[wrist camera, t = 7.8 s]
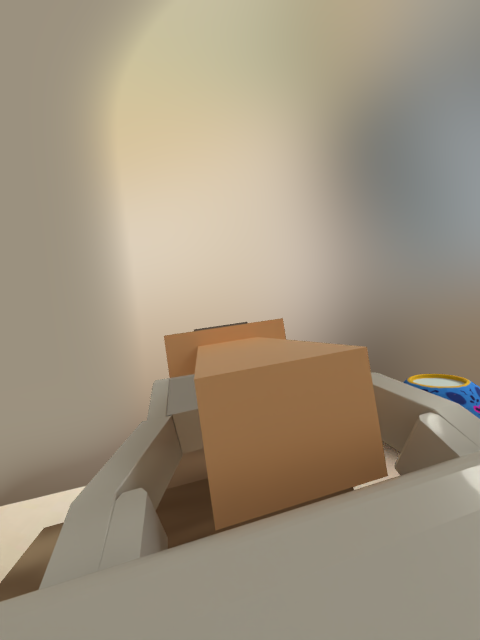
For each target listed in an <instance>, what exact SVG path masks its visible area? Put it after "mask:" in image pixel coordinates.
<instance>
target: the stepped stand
mask: <svg viewBox="0 0 480 640" xmlns="http://www.w3.org/2000/svg"><path fill="white" fill-rule="evenodd" d="M353 490H354V489H353V487H351V488H348V489H345V490H342V491H339V492H335V493H332V494H329V495H326V496H323V497H320V498H316V499H313V500H310V501H307V502H304V503H301V504H298V505H294V506H291V507H288V508H285V509H282V510H279V511H275V512H272V513H269V514H266V515H263V516H260V517H257V518H253V519H250V520H247V521H244V522H241V523H238V524H234V525H231V526H228V527H225V528H222V529H219V530H216V531H215V524H214V517H213V510H212V503H211V496H210V488H209V481H208V474H207V467H206V460H205V453H204V448H203V449H199V450H195V451H192V452H188V453H184V454H182V458H181V460H180V462H179V464H178V466H177V468H176V470H175V472H174V474H173V476H172V478H171V480H170V482H169V484H168V486H167V488H166V490H165V493H164V495H163V497H162V499H161V501H160V503H159V505H158V507H157V509H156V513H157V515H158V517H159V520H160V522H161V524H162V526H163V528H164V531H165V533H166V535H167V537H168V547H167V549H169V548H172V547H176V546H179V545H182V544H185V543H188V542H191V541H195V540H198V539H201V538H204V537H207V536H210V535H214V534H217V533H220V532H223V531H226V530H229V529H233V528H236V527H239V526H242V525H245V524H248V523H252V522H255V521H258V520H261V519H264V518H267V517H271V516H274V515H277V514H280V513H283V512H287V511H290V510H293V509H296V508H299V507H302V506H306V505H309V504H312V503H315V502H318V501H321V500H325V499H328V498H331V497H334V496H337V495H341V494H344V493H347V492H350V491H353ZM63 524H64V523H60V524H57V525H53V526H50V527H46V528H44V529H43V530H42V531H41V532H40V534H39V535H38V536H37V538H36V539H35V540H34V541H33V543H32V544H31V545H30V546H29V548H28V549H27V550H26V551H25V553H24V554H23V555H22V556H21V558H20V559H19V560H18V562H17V563H16V564H15V565H14V567H13V568H12V569H11V570H10V572H9V573H8V574H7V575H6V577H5V578H4V579H3V580H2V582H1V583H0V602H1V601H4V600H8V599H11V598H14V597H17V596H20V595H23V594H27V593H30V592H33V591H36V590H39V587H40V585H41V582H42V579H43V577H44V574H45V571H46V569H47V566H48V563H49V561H50V558H51V555H52V553H53V550H54V548H55V545H56V542H57V540H58V537H59V534H60V532H61V529H62V526H63Z"/></svg>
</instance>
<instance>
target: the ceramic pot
mask: <svg viewBox="0 0 480 640" xmlns="http://www.w3.org/2000/svg"><path fill="white" fill-rule="evenodd" d="M403 383H405V384H408V385H411V386H413V387H416V388H418V389H421V390H424V391H426V392H429V393H432V394H434V395H437V396H440V397H442V398H445V399H447V400H450V401H453V402H455V403H458V404H460V405H461V406H463V407H464V408H465V409H467V410H468V411H469V412H471V413H472V414H474V415H475V416H476V417H478V418H479V419H480V387H479V386H477V385H476V384H474V383H473V382H471V381H470V380H468V379H465V378H462V377H458V376H453V375H445V374H444V375H443V374H421V375H415V376H412V377H409V378H408V379H406V380H405V381H404V382H403Z"/></svg>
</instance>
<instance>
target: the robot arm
mask: <svg viewBox="0 0 480 640" xmlns="http://www.w3.org/2000/svg"><path fill="white" fill-rule="evenodd" d="M194 375H195V374H192V375H186V376H179V377H173V378H168V379H162V380H156V381H155V382H154V383H153V388H152V394H151V400H150V406H149V412H148V418H147V421H143V422H141V424H139V426H138V427H137V428H136V429H135V430H134V431H133V433H132V434H131V435H130V436H129V437H128V438H127V440H126V441H125V442H124V443H123V444H122V445H121V447H120V448H119V449H118V450H117V451H116V452H115V453H114V455H113V456H112V457H111V458H110V459H109V461H108V462H107V463H106V464H105V465H104V466H103V468H102V469H101V470H100V471H99V472H98V474H96V476H95V477H94V478H93V479H92V480H91V481H90V483H89V484H88V485H87V486H86V487H85V488H84V489H83V491H82V492H81V493H80V494H79V495H78V496H77V498H76V499H75V500H74V501H73V502H72V503H71V505H70V508H69V511H68V513H67V516H66V518H65V521H64V524H63V526H62V529H61V532H60V534H59V537H58V540H57V542H56V545H55V548H54V550H53V553H52V555H51V558H50V561H49V563H48V566H47V569H46V571H45V574H44V577H43V579H42V582H41V585H40V587H39V590H36V591H33V592H30V593H27V594H23V595H20V596H17V597H14V598H11V599H8V600H4V601H1V602H0V640H480V419H479V418H478V417H476V416H475V415H474V414H472V413H471V412H469V411H468V410H467V409H465V408H464V407H463V406H461V405H460V404H458V403H455V402H453V401H450V400H447V399H445V398H442V397H440V396H437V395H434V394H432V393H429V392H426V391H424V390H421V389H418V388H416V387H413V386H411V385H408V384H405V383H402V382H400V381H397V380H395V379H392V378H389V377H387V376H384V375H382V374H379V373H372V372H371V376H372V382H373V388H374V395H375V401H376V407H377V413H378V419H379V425H380V431H381V438H382V441H383V442H385V443H386V444H388V445H389V446H391V447H392V448H394V449H395V450H397V451H398V452H400V455H399V457H398V459H397V461H396V463H395V469H396V470H397V472H398V473H399V474H400V475H401V476H398V477H395V478H391V479H388V480H385V481H382V482H379V483H375V484H372V485H369V486H366V487H363V488H360V489H356V490H353V491H350V492H347V493H344V494H341V495H337V496H334V497H331V498H328V499H325V500H321V501H318V502H315V503H312V504H309V505H306V506H302V507H299V508H296V509H293V510H290V511H287V512H283V513H280V514H277V515H274V516H271V517H267V518H264V519H261V520H258V521H255V522H252V523H248V524H245V525H242V526H239V527H236V528H233V529H229V530H226V531H223V532H220V533H217V534H214V535H210V536H207V537H204V538H201V539H198V540H195V541H191V542H188V543H185V544H182V545H179V546H176V547H172V548H169V549H167V547H168V537H167V535H166V533H165V531H164V528H163V526H162V524H161V522H160V520H159V517H158V515H157V513H156V509H157V507H158V505H159V503H160V501H161V499H162V497H163V495H164V493H165V490H166V488H167V486H168V484H169V482H170V480H171V478H172V476H173V474H174V472H175V470H176V468H177V466H178V464H179V462H180V460H181V458H182V454H184V453H188V452H192V451H195V450H199V449H203V448H204V446H203V439H202V432H201V425H200V418H199V411H198V404H197V397H196V390H195V383H194Z"/></svg>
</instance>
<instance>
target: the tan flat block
mask: <svg viewBox="0 0 480 640" xmlns="http://www.w3.org/2000/svg"><path fill="white" fill-rule="evenodd" d="M164 340H165V347H166V353H167V361H168V368H169V376H170V378H173V377H179V376H186V375H192V374H195V375H194V383H195V390H196V397H197V404H198V411H199V418H200V425H201V432H202V439H203V446H204V453H205V460H206V467H207V474H208V481H209V488H210V496H211V503H212V510H213V517H214V524H215V531H216V530H219V529H222V528H225V527H228V526H231V525H234V524H238V523H241V522H244V521H247V520H250V519H253V518H257V517H260V516H263V515H266V514H269V513H272V512H275V511H279V510H282V509H285V508H288V507H291V506H294V505H298V504H301V503H304V502H307V501H310V500H313V499H316V498H320V497H323V496H326V495H329V494H332V493H335V492H339V491H342V490H345V489H348V488H351V487H354V486H357V485H361V484H364V483H367V482H370V481H373V480H376V479H380V478H383V477H386V476H388V474H387V468H386V462H385V456H384V450H383V444H382V438H381V431H380V425H379V419H378V413H377V407H376V401H375V395H374V388H373V382H372V376H371V370H370V364H369V358H368V352H367V347H361V346H352V345H341V344H330V343H318V342H306V341H297V340H286V336H285V329H284V323H283V319H282V318H281V319H275V320H268V321H261V322H254V323H247V322H243V323H236V324H230V325H223V326H216V327H209V328H202V329H195V330H194V331H193V332H187V333H180V334H173V335H167V336H164Z"/></svg>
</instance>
